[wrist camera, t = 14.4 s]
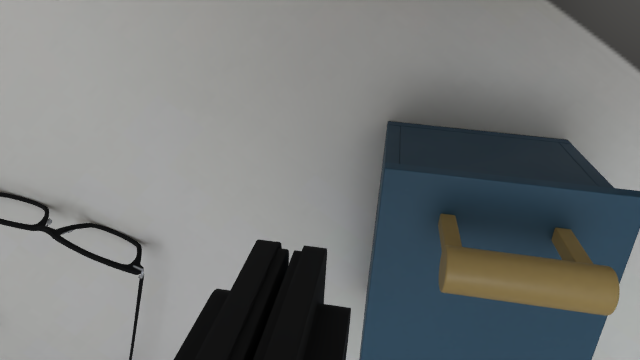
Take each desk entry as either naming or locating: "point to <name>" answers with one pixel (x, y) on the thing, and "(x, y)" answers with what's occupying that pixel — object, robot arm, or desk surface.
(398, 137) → the chest
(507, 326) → the lid
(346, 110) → the desk surface
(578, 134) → the desk surface
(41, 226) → the eyeglasses
